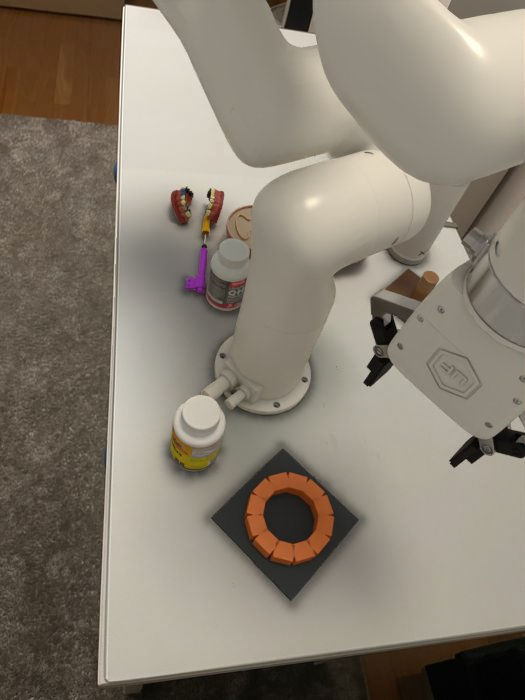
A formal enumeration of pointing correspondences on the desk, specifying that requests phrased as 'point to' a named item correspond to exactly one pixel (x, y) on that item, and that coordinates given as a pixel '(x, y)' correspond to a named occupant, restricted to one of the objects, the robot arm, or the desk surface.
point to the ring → (267, 540)
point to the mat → (283, 524)
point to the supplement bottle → (197, 433)
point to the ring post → (414, 285)
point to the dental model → (184, 198)
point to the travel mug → (430, 224)
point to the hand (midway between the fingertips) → (416, 414)
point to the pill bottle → (228, 275)
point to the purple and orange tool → (200, 279)
